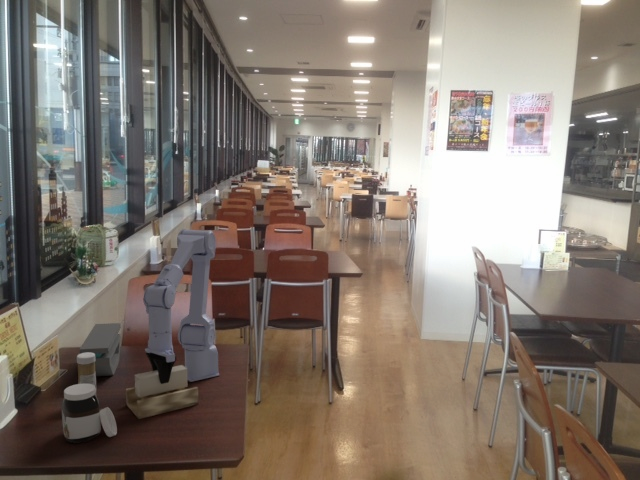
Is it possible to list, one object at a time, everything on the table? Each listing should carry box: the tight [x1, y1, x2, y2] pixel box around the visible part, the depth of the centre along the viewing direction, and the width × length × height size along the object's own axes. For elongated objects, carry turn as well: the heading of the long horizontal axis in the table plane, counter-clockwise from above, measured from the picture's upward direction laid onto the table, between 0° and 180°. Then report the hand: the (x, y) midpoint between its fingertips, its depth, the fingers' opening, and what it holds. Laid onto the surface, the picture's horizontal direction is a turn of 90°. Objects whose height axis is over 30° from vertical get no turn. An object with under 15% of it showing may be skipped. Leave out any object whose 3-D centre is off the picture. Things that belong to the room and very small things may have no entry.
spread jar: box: [61, 383, 118, 444], centre depth 138 cm, size 12×11×12 cm
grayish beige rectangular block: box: [134, 364, 189, 397], centre depth 155 cm, size 13×4×5 cm, turn 125°
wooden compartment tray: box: [125, 386, 199, 420], centre depth 156 cm, size 16×10×4 cm, turn 125°
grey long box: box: [78, 322, 122, 377], centre depth 180 cm, size 25×8×11 cm, turn 11°
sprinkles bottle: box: [76, 352, 97, 396], centre depth 156 cm, size 5×5×13 cm
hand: (161, 380), depth 155 cm, fingers closed on grayish beige rectangular block, 3 cm apart
